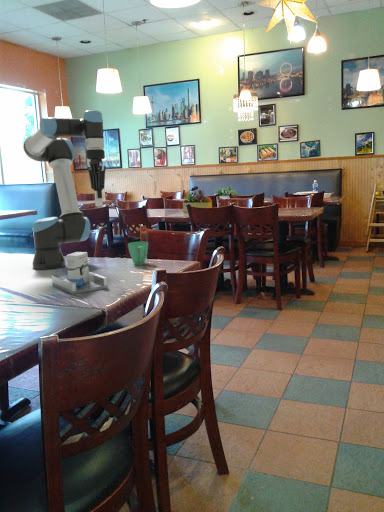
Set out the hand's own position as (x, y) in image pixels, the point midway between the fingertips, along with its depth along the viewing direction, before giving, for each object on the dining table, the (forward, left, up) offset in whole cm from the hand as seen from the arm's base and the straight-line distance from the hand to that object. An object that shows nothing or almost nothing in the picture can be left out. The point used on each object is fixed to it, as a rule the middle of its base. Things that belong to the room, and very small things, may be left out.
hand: (99, 206), depth 190 cm
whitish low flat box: (+16, -18, -29) cm, 38 cm away
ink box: (+16, -18, -28) cm, 37 cm away
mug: (-6, +22, -30) cm, 37 cm away
